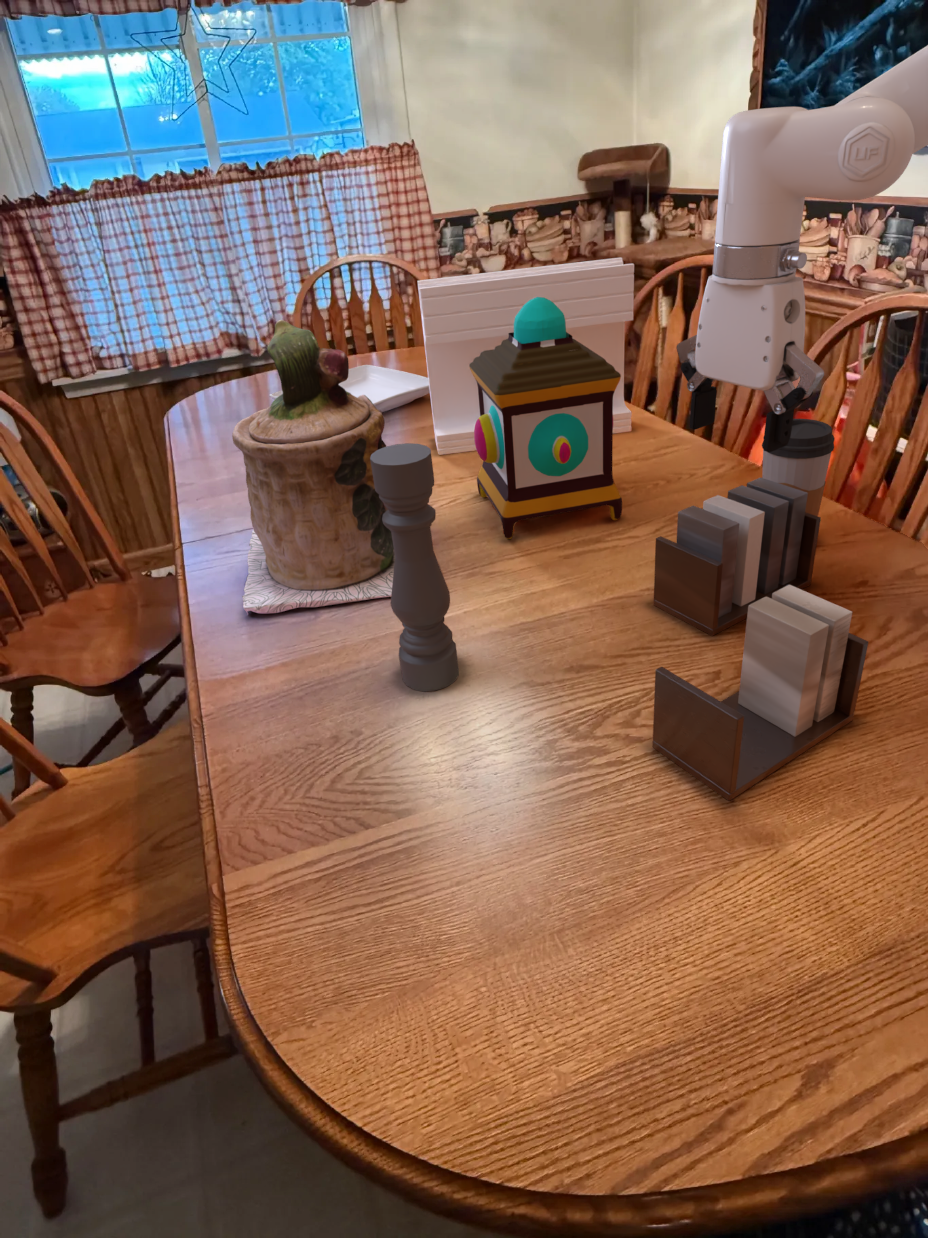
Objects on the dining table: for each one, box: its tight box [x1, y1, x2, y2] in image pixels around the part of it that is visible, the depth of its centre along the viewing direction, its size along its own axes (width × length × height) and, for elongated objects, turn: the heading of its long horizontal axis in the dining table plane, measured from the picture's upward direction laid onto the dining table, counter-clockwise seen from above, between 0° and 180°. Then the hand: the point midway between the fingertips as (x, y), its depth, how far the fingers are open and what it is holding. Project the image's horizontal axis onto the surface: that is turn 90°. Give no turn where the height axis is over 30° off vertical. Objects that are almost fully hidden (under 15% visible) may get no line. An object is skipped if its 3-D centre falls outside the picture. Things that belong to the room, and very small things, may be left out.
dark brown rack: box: [651, 585, 869, 802], centre depth 73 cm, size 17×9×12 cm, turn 124°
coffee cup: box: [761, 418, 835, 517], centre depth 104 cm, size 8×8×15 cm
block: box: [417, 257, 635, 456], centre depth 143 cm, size 35×8×28 cm, turn 96°
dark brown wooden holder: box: [652, 477, 821, 637], centre depth 94 cm, size 17×9×12 cm, turn 124°
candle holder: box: [370, 442, 460, 692], centre depth 82 cm, size 6×6×25 cm
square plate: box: [268, 364, 430, 414], centre depth 177 cm, size 27×27×4 cm
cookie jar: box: [231, 319, 395, 615], centre depth 105 cm, size 25×25×32 cm
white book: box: [702, 494, 765, 606], centre depth 93 cm, size 2×6×11 cm, turn 34°
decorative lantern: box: [469, 297, 623, 540], centre depth 115 cm, size 20×20×30 cm
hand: (737, 436), depth 86 cm, fingers open, 9 cm apart
